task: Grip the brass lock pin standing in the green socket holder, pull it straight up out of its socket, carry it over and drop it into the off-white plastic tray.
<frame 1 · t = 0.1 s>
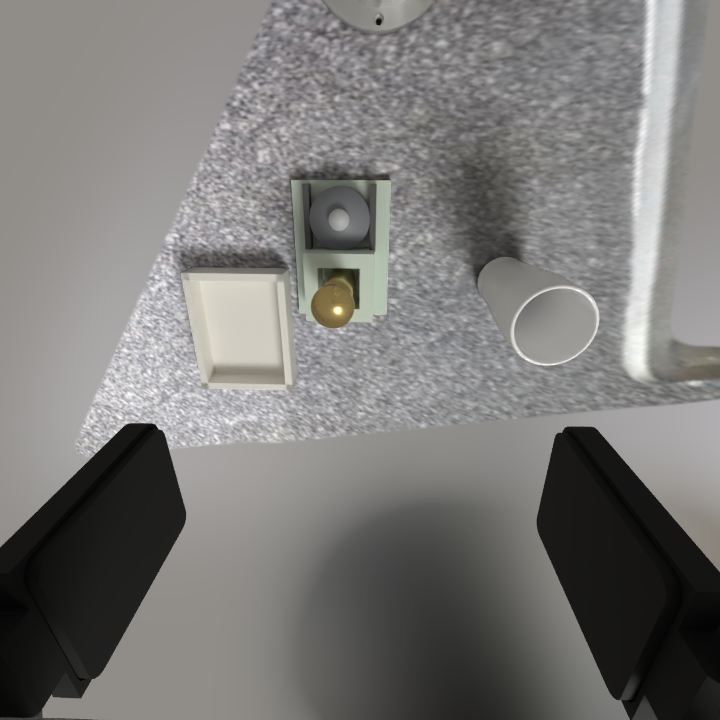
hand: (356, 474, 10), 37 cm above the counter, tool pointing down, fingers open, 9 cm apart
lock pin: (342, 279, 44), point 1 cm above the counter, touching green socket holder
green socket holder: (342, 250, 43), on the counter
tray: (247, 326, 48), on the counter
drinking glass: (500, 279, 44), on the counter
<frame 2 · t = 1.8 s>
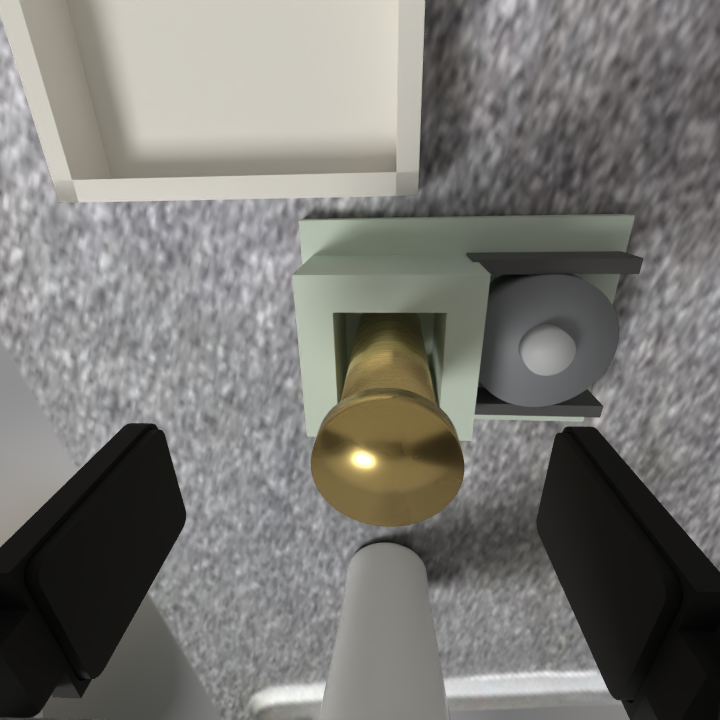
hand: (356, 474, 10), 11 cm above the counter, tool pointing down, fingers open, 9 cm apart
lock pin: (389, 328, 19), point 1 cm above the counter, touching green socket holder
green socket holder: (450, 323, 20), on the counter
tray: (238, 43, 16), on the counter
drinking glass: (387, 563, 27), on the counter
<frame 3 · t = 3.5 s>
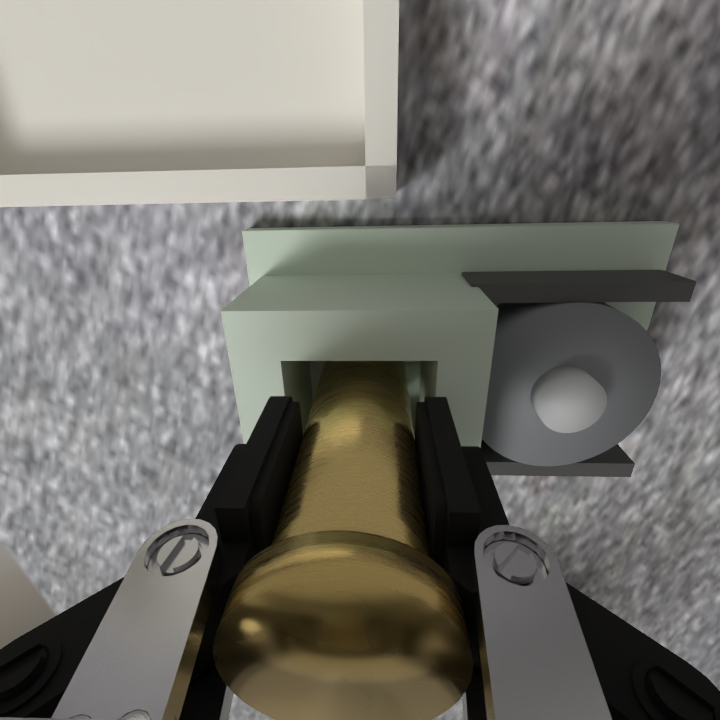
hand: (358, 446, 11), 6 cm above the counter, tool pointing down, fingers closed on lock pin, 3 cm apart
lock pin: (364, 366, 15), point 1 cm above the counter, touching gripper, green socket holder
green socket holder: (441, 357, 16), on the counter
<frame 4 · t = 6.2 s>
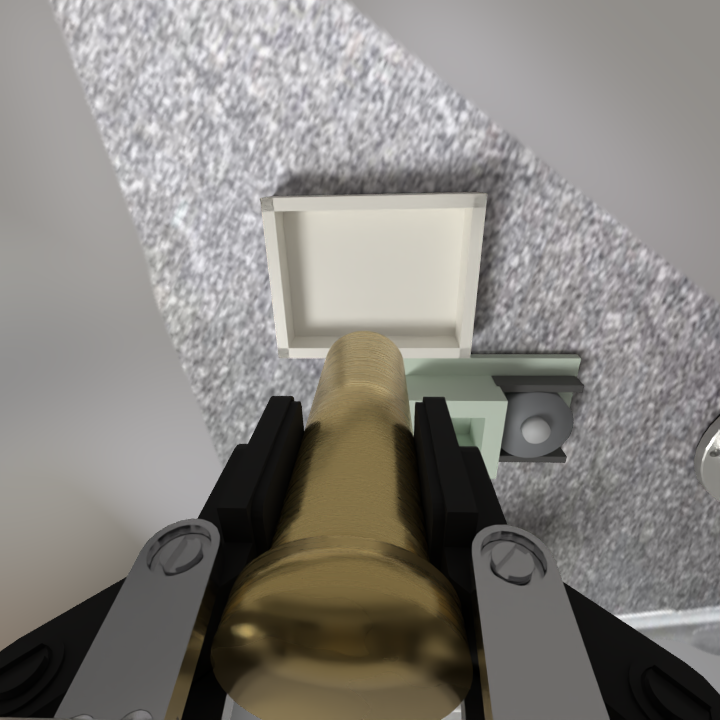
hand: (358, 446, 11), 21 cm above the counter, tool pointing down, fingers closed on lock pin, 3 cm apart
lock pin: (364, 367, 15), point 16 cm above the counter, touching gripper
green socket holder: (480, 407, 34), on the counter
tray: (373, 274, 29), on the counter
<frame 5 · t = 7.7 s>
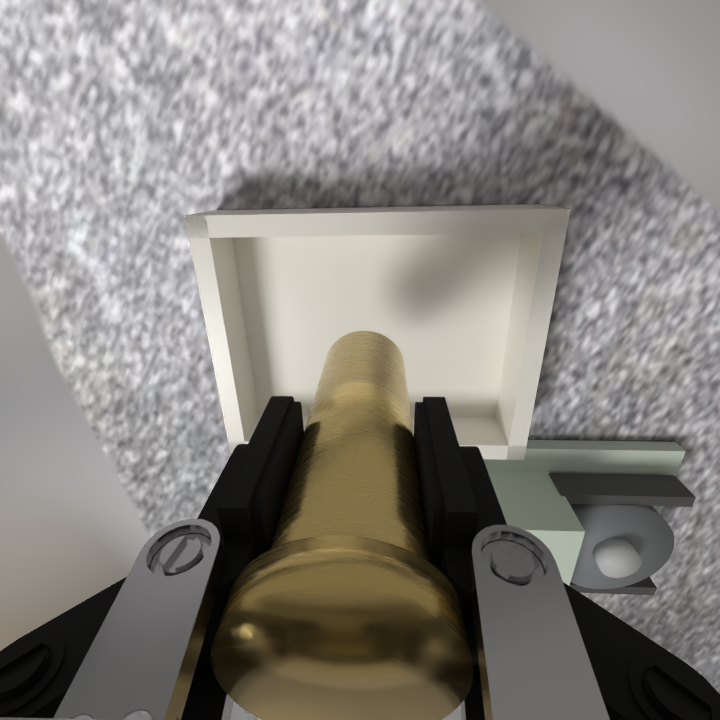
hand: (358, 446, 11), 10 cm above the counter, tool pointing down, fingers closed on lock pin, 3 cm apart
lock pin: (364, 367, 15), point 5 cm above the counter, touching gripper
green socket holder: (526, 509, 24), on the counter
tray: (374, 327, 19), on the counter
when the fingers open (7 cm above the counter, at t = 8.9 s): lock pin drops 2 cm, resting on tray.
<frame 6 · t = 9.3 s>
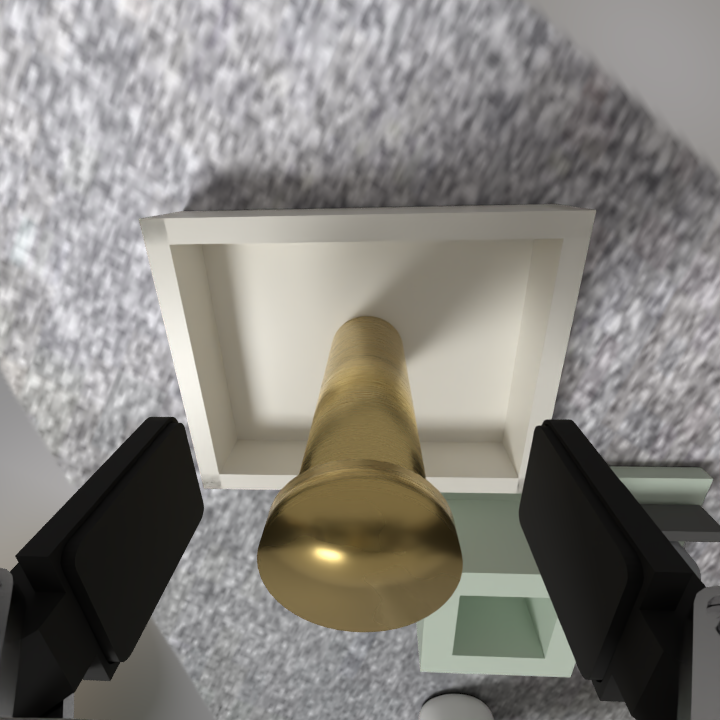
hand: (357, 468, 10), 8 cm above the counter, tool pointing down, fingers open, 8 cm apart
lock pin: (367, 350, 17), point 1 cm above the counter, touching tray
green socket holder: (535, 538, 22), on the counter
tray: (366, 343, 17), on the counter
drinking glass: (453, 706, 29), on the counter
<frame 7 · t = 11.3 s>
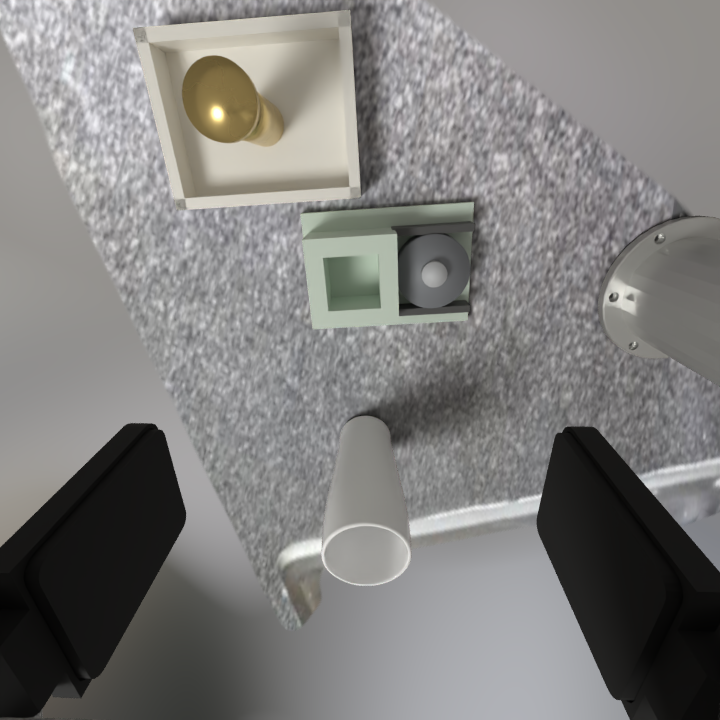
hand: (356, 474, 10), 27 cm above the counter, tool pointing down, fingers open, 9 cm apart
lock pin: (264, 124, 30), point 1 cm above the counter, touching tray
green socket holder: (388, 268, 35), on the counter
tray: (265, 124, 30), on the counter
drinking glass: (365, 432, 43), on the counter
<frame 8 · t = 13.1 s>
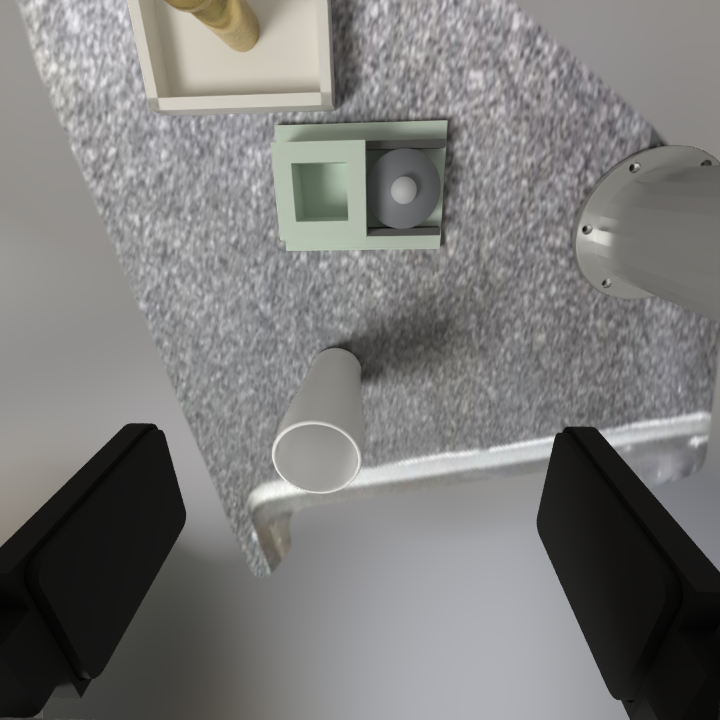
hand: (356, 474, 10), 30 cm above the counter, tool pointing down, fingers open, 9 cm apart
lock pin: (239, 27, 30), point 1 cm above the counter, touching tray
green socket holder: (361, 189, 35), on the counter
tray: (241, 29, 30), on the counter
drinking glass: (337, 367, 43), on the counter
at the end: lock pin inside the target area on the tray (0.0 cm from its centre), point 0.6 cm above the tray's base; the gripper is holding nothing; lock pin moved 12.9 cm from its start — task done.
